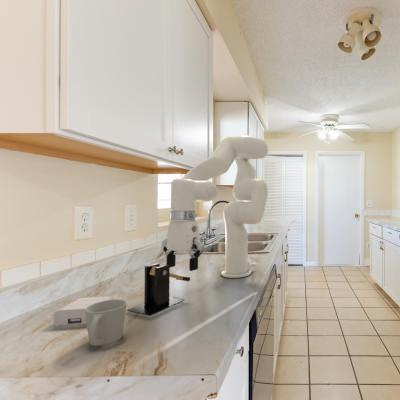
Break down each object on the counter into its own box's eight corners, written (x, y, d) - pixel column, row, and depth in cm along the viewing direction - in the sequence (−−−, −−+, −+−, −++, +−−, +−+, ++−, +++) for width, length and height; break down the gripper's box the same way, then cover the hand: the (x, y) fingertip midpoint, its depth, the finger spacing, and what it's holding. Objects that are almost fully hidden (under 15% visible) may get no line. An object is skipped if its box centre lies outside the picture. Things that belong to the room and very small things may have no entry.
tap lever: (177, 281, 91) (179, 274, 92) (189, 283, 89) (191, 275, 90) (145, 273, 80) (148, 265, 81) (158, 275, 78) (161, 267, 79)
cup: (131, 333, 66) (131, 298, 66) (113, 356, 56) (113, 315, 56) (95, 336, 64) (95, 300, 64) (70, 361, 54) (70, 318, 54)
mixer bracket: (162, 299, 88) (162, 260, 88) (184, 303, 84) (184, 262, 84) (127, 314, 76) (127, 268, 77) (150, 319, 73) (150, 272, 73)
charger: (123, 304, 83) (95, 327, 69) (89, 306, 82) (53, 329, 67) (123, 289, 83) (95, 308, 69) (89, 290, 82) (53, 310, 67)
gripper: (212, 216, 90) (211, 268, 90) (172, 215, 96) (171, 263, 96) (195, 217, 83) (194, 274, 83) (154, 216, 89) (152, 268, 89)
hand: (182, 268), depth 89 cm, fingers open, 9 cm apart
